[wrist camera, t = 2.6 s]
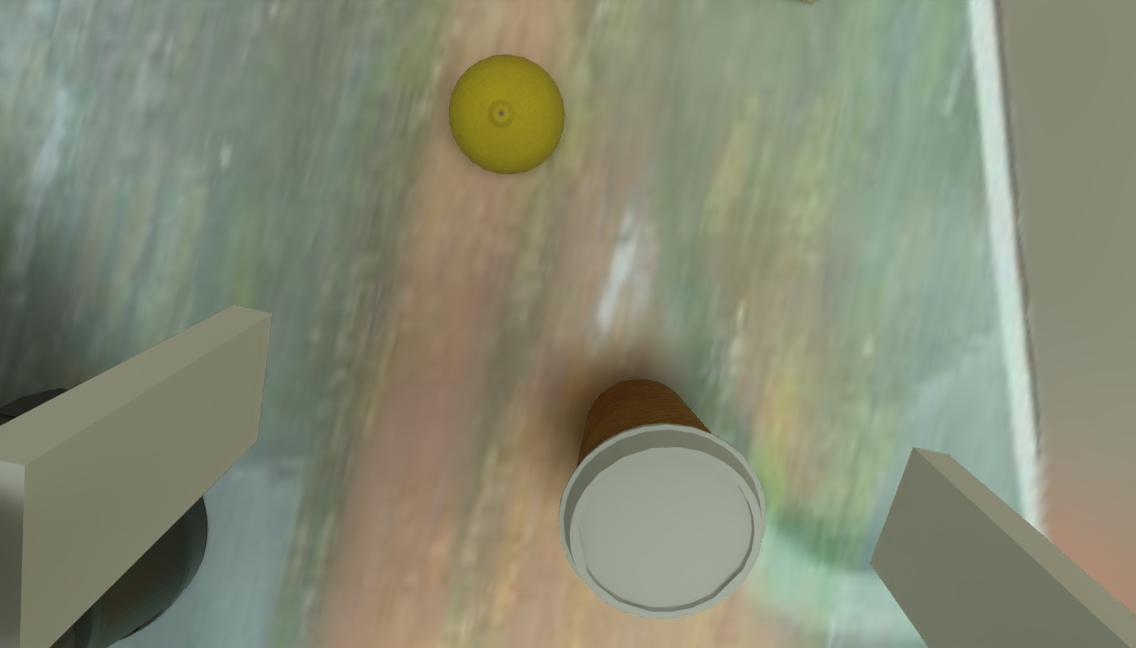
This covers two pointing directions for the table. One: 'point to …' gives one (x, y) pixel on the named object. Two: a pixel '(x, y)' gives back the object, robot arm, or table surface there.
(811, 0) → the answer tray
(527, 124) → the lemon
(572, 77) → the table surface
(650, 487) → the disposable coffee cup
